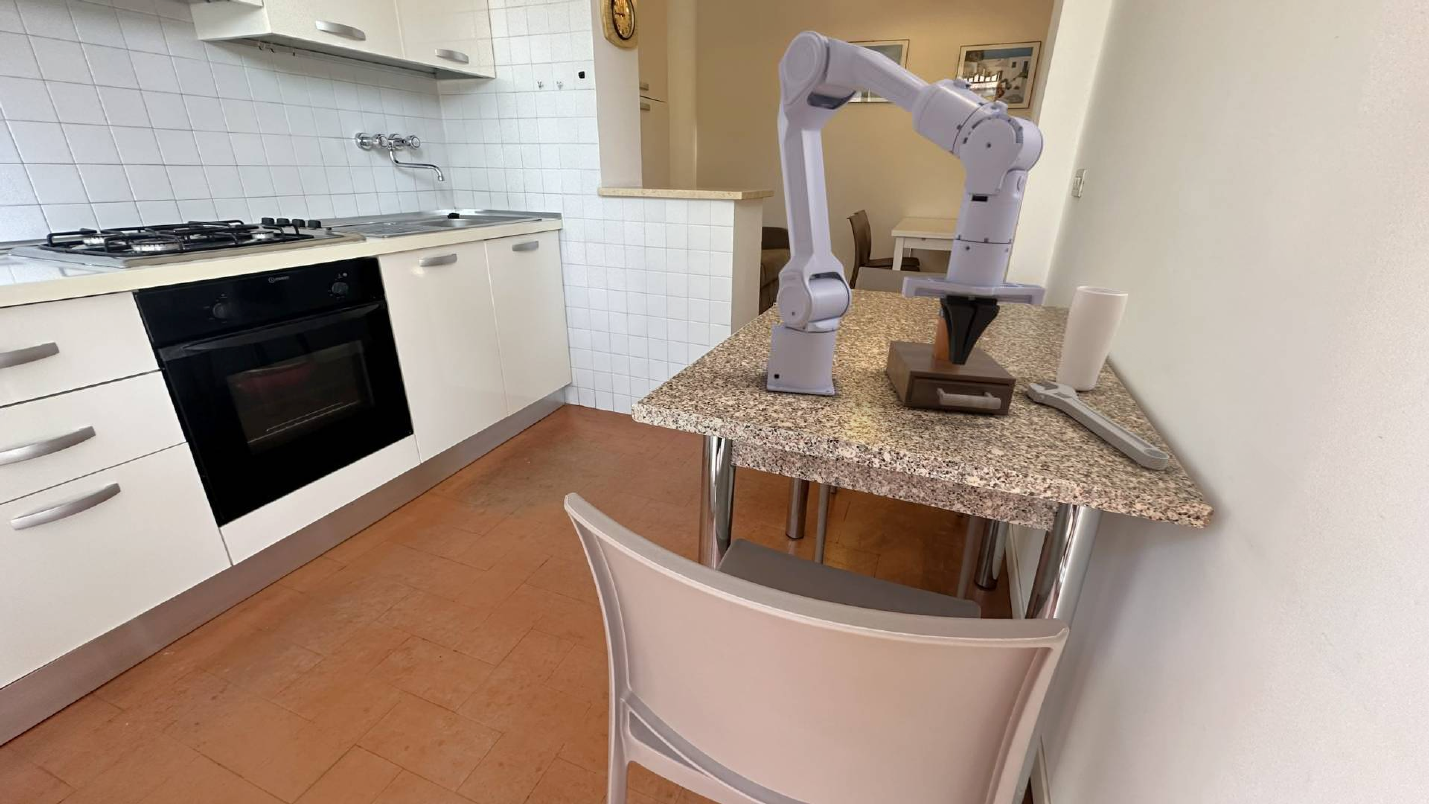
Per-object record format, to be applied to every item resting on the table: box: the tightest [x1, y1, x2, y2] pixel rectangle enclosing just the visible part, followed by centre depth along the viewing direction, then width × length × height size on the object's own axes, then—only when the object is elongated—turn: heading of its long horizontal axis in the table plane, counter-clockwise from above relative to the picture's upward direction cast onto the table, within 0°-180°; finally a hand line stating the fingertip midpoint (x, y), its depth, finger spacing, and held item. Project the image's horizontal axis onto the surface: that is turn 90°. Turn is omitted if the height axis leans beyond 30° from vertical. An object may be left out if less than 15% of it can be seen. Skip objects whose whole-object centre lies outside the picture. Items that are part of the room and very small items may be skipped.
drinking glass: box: [1055, 285, 1130, 392], centre depth 86 cm, size 7×7×15 cm
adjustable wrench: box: [1026, 380, 1170, 471], centre depth 74 cm, size 25×6×2 cm, turn 176°
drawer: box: [910, 377, 1014, 412], centre depth 80 cm, size 18×12×3 cm
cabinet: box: [885, 340, 1018, 416], centre depth 83 cm, size 16×14×5 cm
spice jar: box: [932, 306, 949, 361], centre depth 81 cm, size 4×4×7 cm
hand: (956, 362), depth 66 cm, fingers closed
